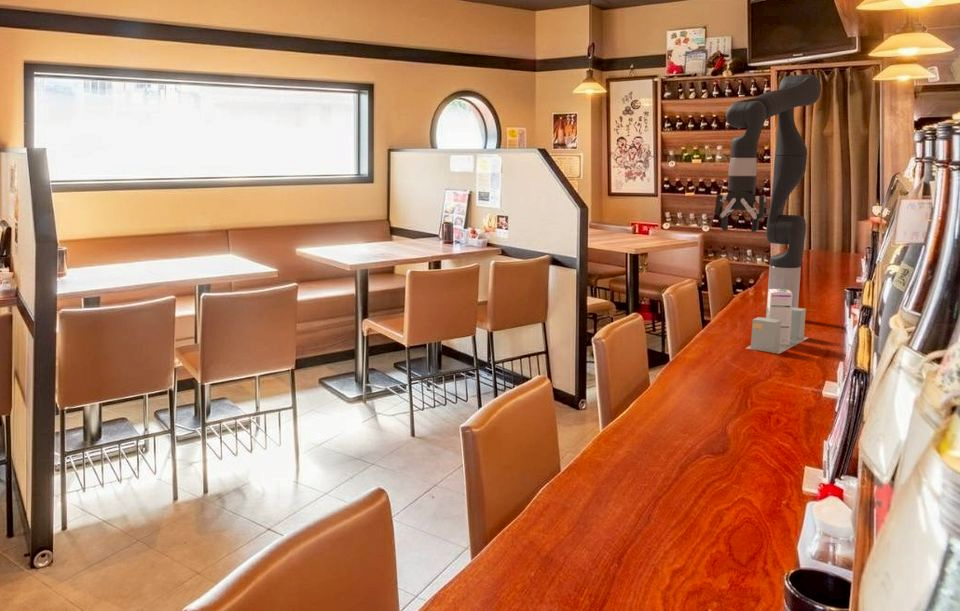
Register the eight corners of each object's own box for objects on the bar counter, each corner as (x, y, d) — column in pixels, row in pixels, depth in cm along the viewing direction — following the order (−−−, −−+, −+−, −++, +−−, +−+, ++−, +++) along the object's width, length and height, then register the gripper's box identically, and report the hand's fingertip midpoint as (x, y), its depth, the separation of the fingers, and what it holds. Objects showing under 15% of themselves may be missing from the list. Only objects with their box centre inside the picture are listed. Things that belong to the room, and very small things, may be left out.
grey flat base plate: (776, 336, 217) (776, 332, 217) (808, 341, 211) (809, 337, 211) (744, 352, 200) (745, 348, 200) (778, 358, 194) (779, 353, 194)
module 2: (782, 333, 216) (784, 306, 214) (803, 336, 212) (805, 308, 210) (777, 336, 213) (779, 308, 211) (798, 339, 209) (800, 311, 207)
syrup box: (790, 345, 202) (794, 292, 199) (766, 344, 203) (770, 291, 200) (787, 340, 207) (791, 289, 204) (764, 339, 209) (768, 288, 206)
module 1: (756, 346, 202) (758, 317, 200) (779, 349, 198) (781, 320, 196) (750, 349, 199) (752, 319, 197) (773, 352, 195) (775, 322, 193)
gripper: (772, 174, 211) (768, 231, 214) (723, 173, 220) (720, 229, 223) (762, 174, 205) (758, 234, 209) (712, 174, 215) (710, 231, 218)
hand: (739, 231), depth 216 cm, fingers open, 8 cm apart
